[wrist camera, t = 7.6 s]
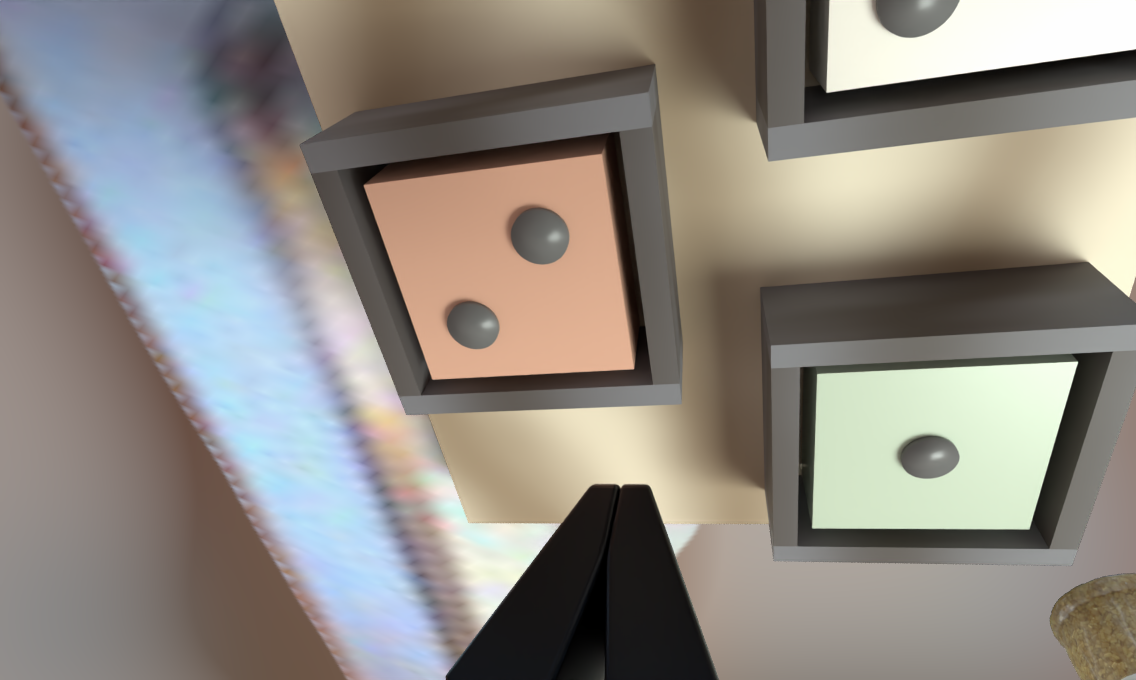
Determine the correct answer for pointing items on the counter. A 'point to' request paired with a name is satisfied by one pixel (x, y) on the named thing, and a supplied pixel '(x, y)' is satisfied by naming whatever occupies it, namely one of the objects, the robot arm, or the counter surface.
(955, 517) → the sage tile
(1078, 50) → the cream tile
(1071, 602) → the sprinkles bottle
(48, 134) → the counter surface
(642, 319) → the button board
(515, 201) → the terracotta tile
